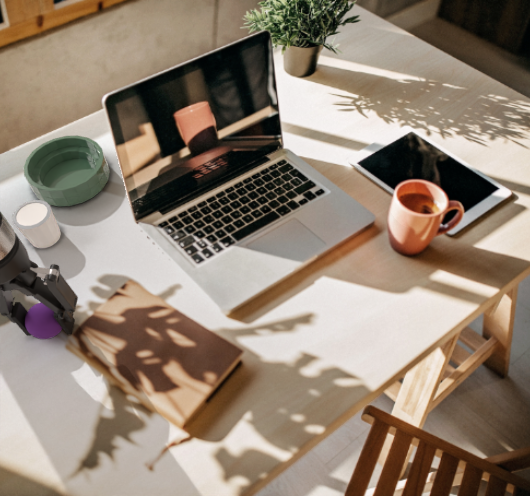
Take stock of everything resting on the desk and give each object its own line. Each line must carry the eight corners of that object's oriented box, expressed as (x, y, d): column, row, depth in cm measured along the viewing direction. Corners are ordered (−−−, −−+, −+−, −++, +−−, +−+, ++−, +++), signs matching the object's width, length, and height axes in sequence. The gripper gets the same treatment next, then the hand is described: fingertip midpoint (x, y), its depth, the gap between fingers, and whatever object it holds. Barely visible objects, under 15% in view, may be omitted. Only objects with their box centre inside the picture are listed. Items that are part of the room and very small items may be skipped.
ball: (29, 345, 81) (13, 329, 76) (38, 313, 84) (23, 295, 79) (66, 344, 81) (52, 328, 76) (73, 312, 84) (61, 294, 79)
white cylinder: (55, 253, 92) (41, 230, 86) (21, 249, 93) (4, 226, 87) (70, 225, 96) (57, 201, 90) (36, 221, 97) (22, 197, 91)
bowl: (25, 209, 99) (14, 191, 94) (43, 154, 108) (34, 136, 104) (103, 207, 99) (95, 189, 94) (115, 152, 108) (108, 134, 104)
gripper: (-99, 273, 61) (-13, 350, 80) (54, 269, 61) (104, 347, 80) (-77, 225, 65) (0, 309, 84) (66, 222, 66) (111, 306, 84)
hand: (51, 327), depth 82 cm, fingers closed on ball, 6 cm apart
